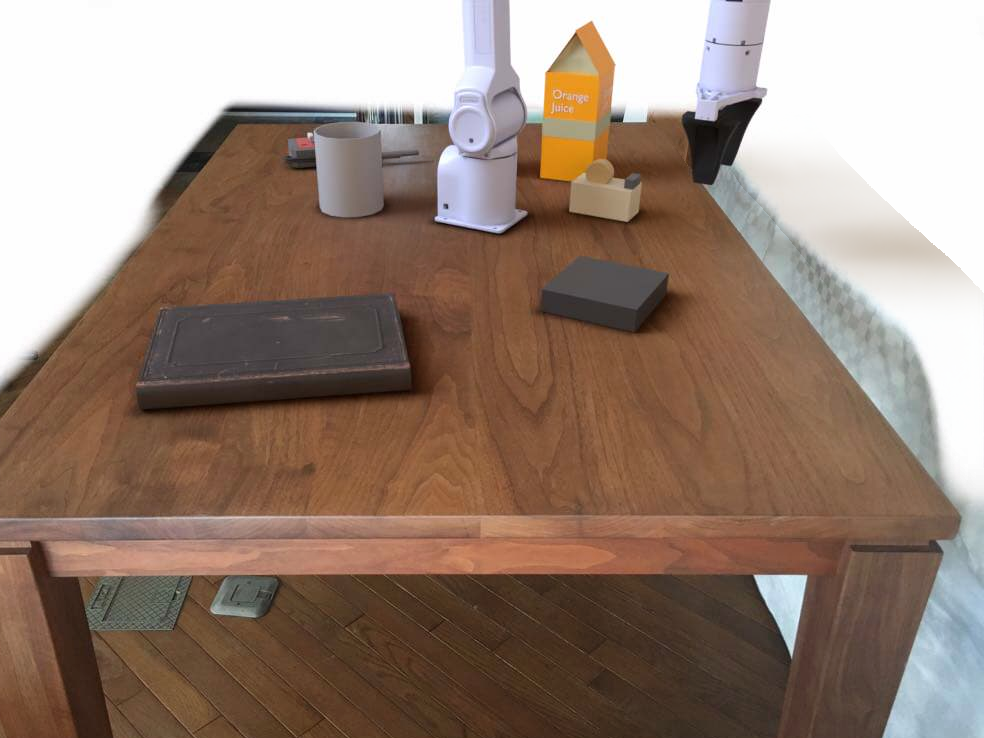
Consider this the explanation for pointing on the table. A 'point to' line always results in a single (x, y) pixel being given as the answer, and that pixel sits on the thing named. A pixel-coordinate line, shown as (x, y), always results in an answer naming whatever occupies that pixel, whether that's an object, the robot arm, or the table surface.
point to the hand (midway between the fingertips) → (713, 173)
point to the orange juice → (577, 106)
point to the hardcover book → (274, 351)
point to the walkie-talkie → (306, 157)
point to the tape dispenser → (605, 193)
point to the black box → (605, 293)
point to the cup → (349, 168)
